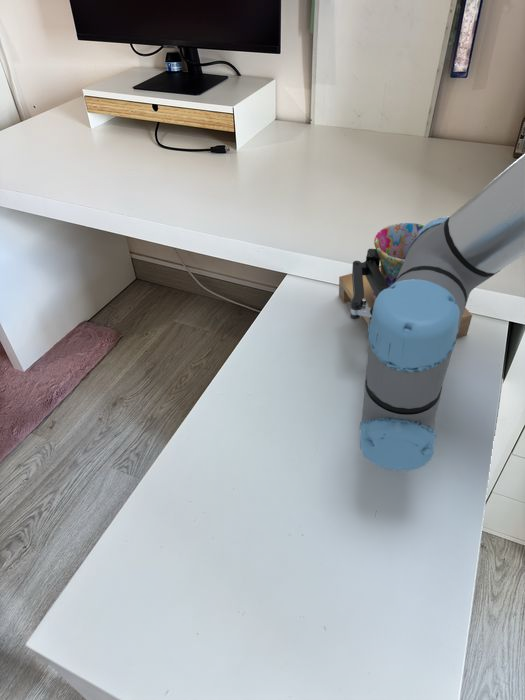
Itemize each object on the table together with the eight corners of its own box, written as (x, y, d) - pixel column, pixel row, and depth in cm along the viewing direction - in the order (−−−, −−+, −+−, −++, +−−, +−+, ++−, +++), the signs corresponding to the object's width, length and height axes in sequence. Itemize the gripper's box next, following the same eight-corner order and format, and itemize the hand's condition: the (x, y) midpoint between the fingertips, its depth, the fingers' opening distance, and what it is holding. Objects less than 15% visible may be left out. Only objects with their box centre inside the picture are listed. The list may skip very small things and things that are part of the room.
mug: (428, 325, 72) (440, 265, 65) (363, 315, 75) (368, 256, 68) (437, 275, 80) (449, 216, 72) (379, 267, 83) (384, 209, 75)
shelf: (467, 334, 76) (472, 315, 73) (381, 360, 74) (384, 340, 71) (414, 274, 87) (417, 255, 84) (338, 295, 85) (339, 276, 82)
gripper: (317, 360, 66) (339, 257, 81) (484, 378, 62) (473, 266, 77) (317, 318, 61) (340, 216, 76) (499, 334, 56) (484, 223, 71)
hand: (407, 241), depth 76 cm, fingers open, 7 cm apart
